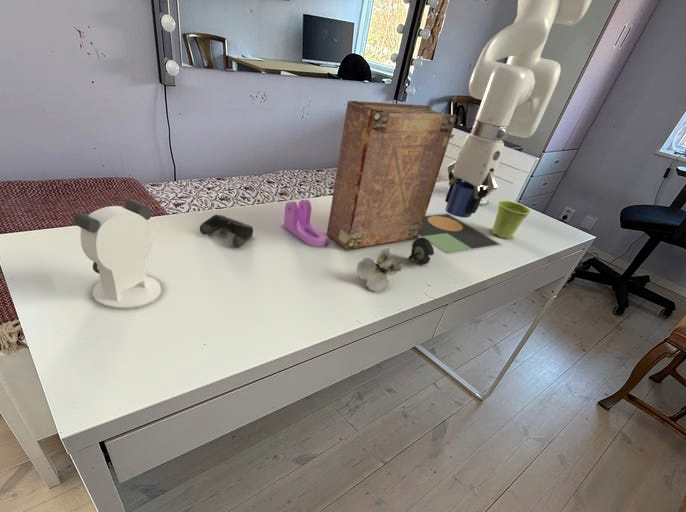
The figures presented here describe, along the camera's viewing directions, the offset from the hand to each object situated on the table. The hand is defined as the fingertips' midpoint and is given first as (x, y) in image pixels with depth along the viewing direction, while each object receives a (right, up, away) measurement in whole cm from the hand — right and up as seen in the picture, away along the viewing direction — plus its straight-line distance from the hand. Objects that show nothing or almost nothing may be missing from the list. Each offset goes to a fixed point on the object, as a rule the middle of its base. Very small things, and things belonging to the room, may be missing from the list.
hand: (459, 206), depth 103 cm
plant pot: (+19, -2, +18) cm, 26 cm away
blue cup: (0, -1, +1) cm, 2 cm away
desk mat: (+1, -2, +13) cm, 13 cm away
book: (-22, -7, +3) cm, 24 cm away
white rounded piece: (-72, -28, -31) cm, 84 cm away
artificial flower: (-20, -21, -12) cm, 31 cm away
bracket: (-41, -9, -3) cm, 42 cm away
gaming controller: (-59, -11, -10) cm, 61 cm away
